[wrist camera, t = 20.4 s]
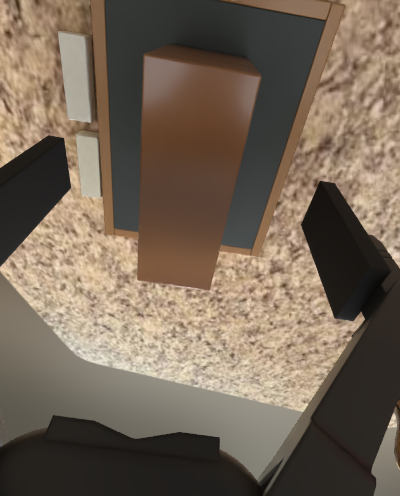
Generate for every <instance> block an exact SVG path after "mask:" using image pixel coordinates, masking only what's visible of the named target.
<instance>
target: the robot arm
mask: <svg viewBox="0 0 400 496" xmlns="http://www.w3.org/2000/svg"><path fill="white" fill-rule="evenodd" d="M70 188H71V184H70V177H69V170H68V163H67V156H66V149H65V142H64V138H60V137H55V136H49V135H48V136H47V137H45V138H44V139H42V140H41V141H40V142H38V143H37V144H35V145H34V146H32V147H31V148H29V149H28V150H26V151H25V152H23V153H22V154H20V155H19V156H17V157H16V158H14V159H13V160H11V161H10V162H9V163H7V164H6V165H4V166H3V167H1V168H0V266H1V265H2V264H3V263H4V262H5V261H6V260H7V259H8V258H9V256H10V255H11V254H12V253H13V252H14V251H15V250H16V249H17V247H18V246H19V245H20V244H21V243H22V242H23V241H24V240H25V239H26V237H27V236H28V235H29V234H30V233H31V232H32V231H33V230H34V229H35V227H36V226H37V225H38V224H39V223H40V222H41V221H42V220H43V219H44V217H45V216H46V215H47V214H48V213H49V212H50V211H51V210H52V208H53V207H54V206H55V205H56V204H57V203H58V202H59V201H60V200H61V198H62V197H63V196H64V195H65V194H66V193H67V192H68V191H69V190H70ZM301 226H302V229H303V232H304V234H305V237H306V240H307V243H308V246H309V248H310V251H311V254H312V257H313V259H314V262H315V265H316V268H317V270H318V273H319V276H320V279H321V282H322V284H323V287H324V290H325V293H326V295H327V298H328V301H329V304H330V307H331V309H332V312H333V315H334V318H336V319H343V320H349V321H354V320H355V318H356V317H357V316H358V315H359V313H360V312H362V314H363V316H364V318H365V320H364V321H363V323H362V324H361V325H360V326H359V328H358V329H357V330H356V331H355V333H354V334H353V335H352V336H351V337H352V339H351V340H350V342H349V343H348V345H347V347H346V348H345V350H344V351H343V353H342V354H341V356H340V357H339V359H338V360H337V362H336V363H335V365H334V366H333V368H332V369H331V371H330V372H329V374H328V376H327V377H326V379H325V380H324V382H323V383H322V385H321V386H320V388H319V389H318V391H317V392H316V394H315V395H314V397H313V398H312V400H311V401H310V403H309V405H308V406H307V408H306V409H305V411H304V412H303V414H302V415H301V417H300V418H299V420H298V421H297V423H296V424H295V426H294V427H293V429H292V431H291V432H290V434H289V435H288V437H287V438H286V440H285V441H284V443H283V444H282V446H281V447H280V449H279V450H278V452H277V453H276V455H275V456H274V458H273V459H272V461H271V462H270V463H269V465H268V466H267V467H266V469H265V470H264V471H263V473H262V474H261V476H260V477H259V478H258V480H256V479H255V478H254V476H253V475H252V474H251V473H250V472H249V471H248V469H247V468H245V466H243V464H241V463H240V462H239V461H238V460H237V459H235V458H234V457H232V456H231V455H229V454H228V453H226V452H224V451H222V450H220V449H219V447H220V445H219V444H220V438H219V437H212V436H205V435H197V434H189V433H182V432H178V433H171V434H165V435H159V436H153V437H147V438H140V439H134V438H130V437H128V436H126V435H124V434H122V433H120V432H117V431H115V430H113V429H111V428H109V427H107V426H104V425H102V424H100V423H98V422H96V421H91V420H84V419H76V418H69V417H62V416H54V415H53V417H52V419H51V422H50V424H49V426H48V428H43V429H39V430H35V431H32V432H29V433H27V434H24V435H21V436H19V437H17V438H15V439H13V440H10V437H9V434H8V431H7V429H6V426H5V423H4V420H3V416H2V411H1V407H0V496H373V495H374V491H375V487H376V478H375V477H374V476H373V475H372V474H371V469H372V466H373V463H374V460H375V458H376V455H377V453H378V450H379V447H380V445H381V443H382V440H383V437H384V435H385V432H386V430H387V427H388V425H389V422H390V420H391V417H392V414H393V412H394V409H395V407H396V404H397V402H398V399H399V397H400V268H399V267H398V265H397V264H396V263H395V261H394V260H393V259H392V257H391V255H390V254H389V253H387V252H388V251H387V249H386V248H385V247H384V245H383V244H382V243H381V242H380V241H379V240H378V239H377V238H375V237H374V236H373V235H368V234H367V232H366V231H365V229H364V228H363V226H362V225H361V223H360V222H359V220H358V218H357V217H356V215H355V214H354V212H353V211H352V209H351V208H350V206H349V205H348V203H347V202H346V200H345V198H344V197H343V195H342V194H341V192H340V191H339V189H338V188H337V186H336V185H335V183H330V182H324V181H320V182H319V185H318V187H317V189H316V192H315V194H314V196H313V198H312V201H311V203H310V205H309V208H308V210H307V212H306V215H305V217H304V219H303V221H302V224H301Z"/></svg>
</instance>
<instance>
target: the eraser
mask: <svg viewBox="0 0 400 496" xmlns="http://www.w3.org/2000/svg"><path fill="white" fill-rule="evenodd" d="M260 81H261V74H260V73H259V72H258V71H257V69H256V68H255V67H254V65H253V64H252V63H251V61H250V60H249V59H248V57H246V56H241V55H236V54H230V53H225V52H219V51H214V50H209V49H203V48H198V47H193V46H187V45H182V44H176V43H171V44H168V45H166V46H163V47H161V48H158V49H155V50H153V51H150V52H148V53H145V54H144V55H143V81H142V119H141V157H140V195H139V233H138V271H137V280H139V281H146V282H153V283H160V284H166V285H173V286H180V287H186V288H193V289H200V290H206V291H209V290H210V287H211V283H212V279H213V275H214V271H215V266H216V262H217V258H218V254H219V250H220V246H221V242H222V238H223V234H224V229H225V225H226V221H227V217H228V213H229V209H230V205H231V201H232V197H233V192H234V188H235V184H236V180H237V176H238V172H239V168H240V164H241V160H242V155H243V151H244V147H245V143H246V139H247V135H248V131H249V127H250V123H251V118H252V114H253V110H254V106H255V102H256V98H257V94H258V90H259V86H260Z"/></svg>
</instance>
